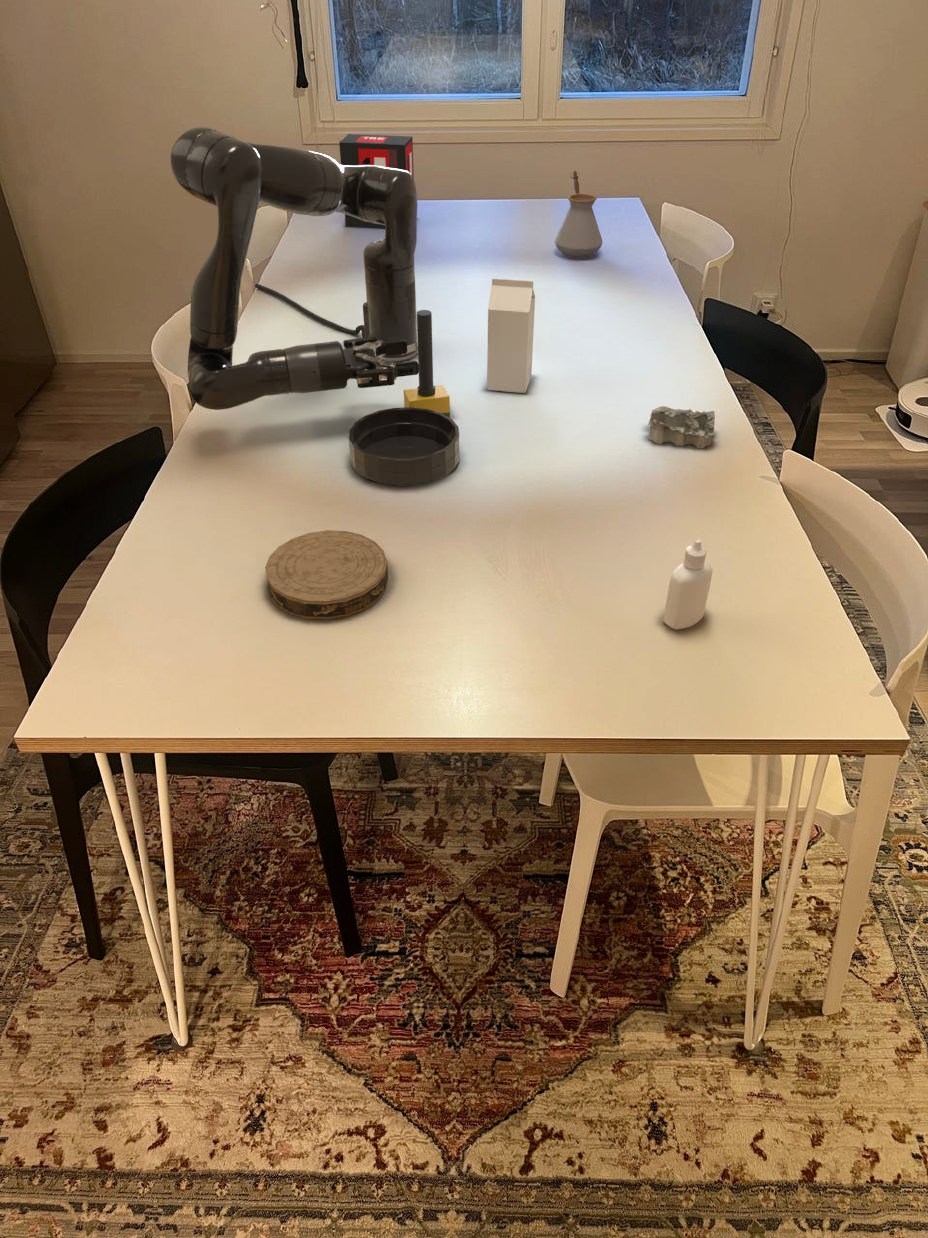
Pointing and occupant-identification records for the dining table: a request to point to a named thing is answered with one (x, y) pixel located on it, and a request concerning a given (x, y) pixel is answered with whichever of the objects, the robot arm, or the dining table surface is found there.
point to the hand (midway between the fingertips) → (412, 356)
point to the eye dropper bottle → (688, 589)
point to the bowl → (404, 446)
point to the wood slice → (327, 574)
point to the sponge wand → (426, 372)
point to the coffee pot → (579, 227)
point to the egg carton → (681, 426)
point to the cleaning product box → (376, 159)
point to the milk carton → (510, 335)
